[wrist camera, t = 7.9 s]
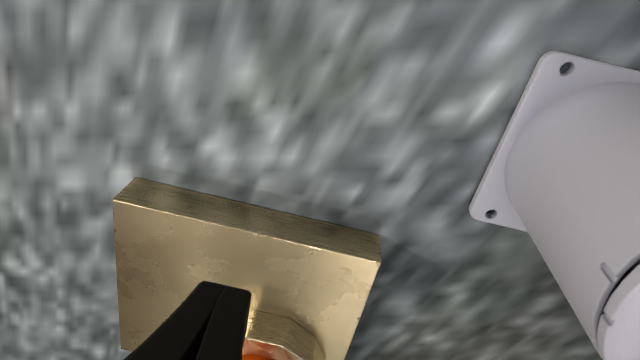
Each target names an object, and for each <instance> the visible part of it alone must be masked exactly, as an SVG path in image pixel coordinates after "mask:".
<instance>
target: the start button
mask: <svg viewBox="0 0 640 360" xmlns="http://www.w3.org/2000/svg"><path fill="white" fill-rule="evenodd" d="M242 360H274V359H270V358H266V357H261V356H257V355H253V354H247V355H242Z"/></svg>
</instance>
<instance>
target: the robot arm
mask: <svg viewBox="0 0 640 360" xmlns="http://www.w3.org/2000/svg"><path fill="white" fill-rule="evenodd" d="M566 62H569V63H570V67H569V69H568V70H567V71H566V72H564V73H560V71H559V70H560V67H561V66H562V65H563V64H564V63H566ZM489 210H495V211H494V212H493V213H492V214H486V212H487V211H489ZM469 213H470V215H471V217H472V218H473V219H476V220H479V221H483V222H488V223H492V224H496V225H500V226H504V227H509V228H513V229H517V230H521V231H526V232H528V233H529V234H530V236H531V238H532V240H533V241H534V243H535V245H536V247H537V248H538V250H539V252H540V254H541V255H542V257H543V259H544V260H545V262H546V264H547V266H548V267H549V269H550V271H551V273H552V274H553V276H554V278H555V280H556V281H557V283H558V285H559V286H560V288H561V290H562V292H563V293H564V295H565V297H566V299H567V300H568V302H569V304H570V306H571V307H572V309H573V311H574V312H575V314H576V316H577V318H578V319H579V321H580V323H581V325H582V326H583V328H584V330H585V332H586V333H587V335H588V337H589V338H590V340H591V342H592V344H593V345H594V347H595V349H596V351H597V352H598V354H599V355H600V357H601V358H602V360H640V71H638V70H633V69H629V68H625V67H621V66H617V65H613V64H609V63H605V62H601V61H596V60H592V59H588V58H584V57H580V56H576V55H572V54H568V53H564V52H559V51H550V52H547V53H545V54H544V55H543V56H542V57H541V58H540V59H539V61H538V63H537V65H536V67H535V69H534V71H533V74H532V76H531V78H530V80H529V82H528V84H527V86H526V88H525V90H524V92H523V94H522V96H521V99H520V101H519V103H518V105H517V107H516V109H515V111H514V113H513V115H512V117H511V119H510V122H509V124H508V126H507V128H506V130H505V132H504V134H503V136H502V138H501V140H500V142H499V145H498V147H497V149H496V151H495V153H494V155H493V157H492V159H491V161H490V163H489V165H488V168H487V170H486V172H485V174H484V176H483V178H482V180H481V182H480V184H479V186H478V188H477V190H476V193H475V195H474V197H473V199H472V201H471V203H470V205H469ZM251 296H252V294H251V293H250V292H249V291H248V290H245V289H240V288H236V287H231V286H227V285H222V284H218V283H213V282H209V281H202V282H200V283H199V284H198V285H197V286H196V287H195V289H194V290H193V291H192V292H191V293H190V294H189V296H188V297H187V298H186V299H185V300H184V301H183V302H182V303H181V305H180V306H179V307H178V308H177V309H176V310H175V311H174V312H173V313H172V314H171V315H170V316H169V317H168V318H167V319H166V320H165V321H164V322H163V323H162V324H161V325H160V326H159V327H158V328H157V329H156V330H155V331H154V332H153V333H152V334H151V335H150V336H149V337H148V338H147V339H146V340H145V341H144V342H143V343H142V344H141V345H140V346H138V347H137V348H136V349H135V350H134V351H133V352H132V353H131V354H130V355H128V356H127V357H126V358H125V359H124V360H242V348H243V344H244V340H245V335H246V328H247V322H248V315H249V309H250V303H251Z"/></svg>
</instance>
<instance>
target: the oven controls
mask: <svg viewBox="0 0 640 360" xmlns="http://www.w3.org/2000/svg"><path fill="white" fill-rule="evenodd" d="M112 201H113V219H114V236H115V254H116V271H117V289H118V306H119V323H120V341H121V349H124V350H128V351H134V350H135V349H136V348H137V347H138V346H140V345H141V344H142V343H143V342H144V341H145V340H146V339H147V338H148V337H149V336H150V335H151V334H152V333H153V332H154V331H155V330H156V329H157V328H158V327H159V326H160V325H161V324H162V323H163V322H164V321H165V320H166V319H167V318H168V317H169V316H170V315H171V314H172V313H173V312H174V311H175V310H176V309H177V308H178V307H179V306H180V305H181V303H182V302H183V301H184V300H185V299H186V298H187V297H188V296H189V294H190V293H191V292H192V291H193V290H194V289H195V287H196V286H197V285H198V284H199V283H200V282H202V281H209V282H213V283H218V284H222V285H227V286H231V287H236V288H240V289H245V290H248V291H249V292H250V293H251V294H252V296H251V303H250V309H249V315H248V322H247V328H246V335H245V340H244V344H243V348H242V355H247V354H253V355H257V356H261V357H266V358H270V359H274V360H345V357H346V354H347V352H348V349H349V346H350V344H351V341H352V339H353V336H354V333H355V331H356V328H357V325H358V323H359V320H360V317H361V315H362V312H363V309H364V307H365V304H366V302H367V299H368V296H369V294H370V291H371V288H372V286H373V283H374V280H375V278H376V275H377V273H378V270H379V267H380V265H381V246H380V235H378V234H374V233H369V232H365V231H361V230H357V229H352V228H348V227H344V226H340V225H335V224H331V223H327V222H323V221H318V220H314V219H310V218H306V217H301V216H297V215H293V214H289V213H284V212H280V211H276V210H272V209H267V208H263V207H259V206H255V205H250V204H246V203H242V202H238V201H233V200H229V199H225V198H221V197H216V196H212V195H208V194H204V193H199V192H195V191H191V190H187V189H182V188H178V187H174V186H170V185H165V184H161V183H157V182H153V181H148V180H144V179H140V178H134V179H133V180H132V181H131V182H130V183H129V184H128V185H127V186H126V187H125V188H124V189H123V190H122V191H121V192H120V193H119V194H118V195H117V196H116V197H114V198H113V200H112Z"/></svg>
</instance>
